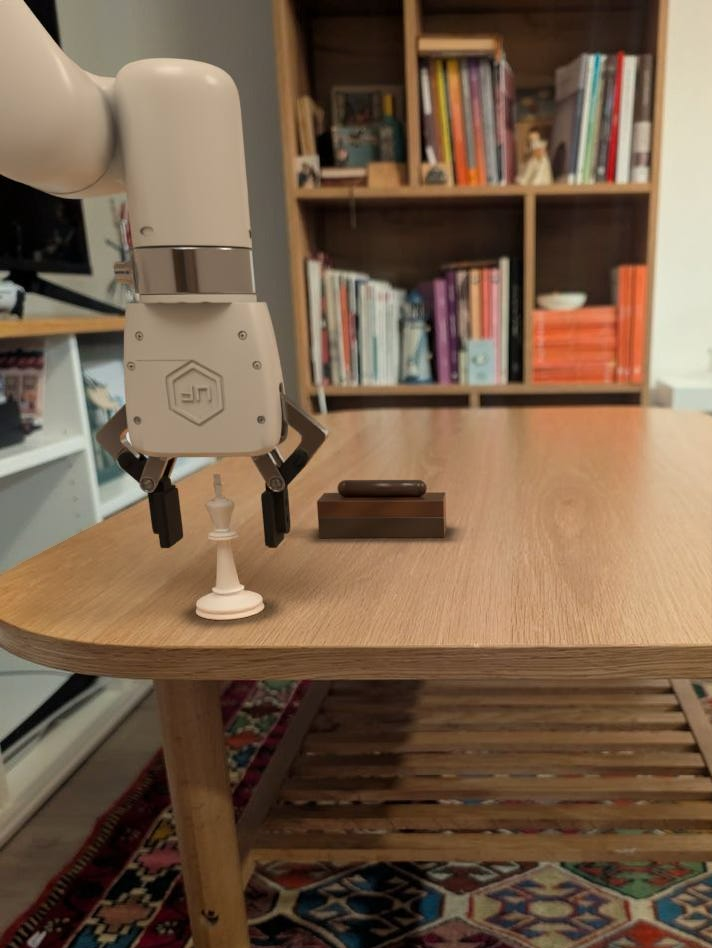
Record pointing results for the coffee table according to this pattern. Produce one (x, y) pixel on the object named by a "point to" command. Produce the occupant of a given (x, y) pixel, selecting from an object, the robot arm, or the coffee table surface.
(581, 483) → the coffee table surface
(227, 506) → the chess piece
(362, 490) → the brush
